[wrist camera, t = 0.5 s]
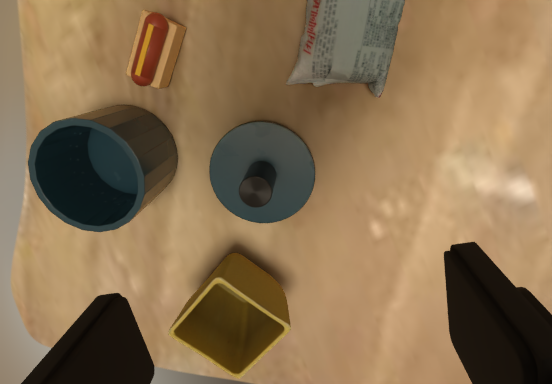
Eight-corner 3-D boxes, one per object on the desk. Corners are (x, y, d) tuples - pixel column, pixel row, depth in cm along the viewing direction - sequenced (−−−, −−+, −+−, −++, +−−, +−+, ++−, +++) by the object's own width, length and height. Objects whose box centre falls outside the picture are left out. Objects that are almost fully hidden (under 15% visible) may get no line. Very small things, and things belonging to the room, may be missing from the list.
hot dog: (155, 9, 34) (136, 3, 30) (187, 24, 34) (172, 20, 30) (136, 75, 36) (116, 78, 32) (167, 89, 36) (151, 93, 33)
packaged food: (287, 81, 35) (284, 85, 31) (308, -64, 31) (309, -85, 26) (377, 95, 35) (389, 101, 30) (411, -49, 31) (430, -67, 26)
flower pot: (296, 275, 43) (293, 329, 34) (250, 321, 45) (238, 381, 37) (235, 230, 41) (216, 275, 33) (192, 280, 44) (165, 334, 36)
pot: (97, 88, 37) (39, 97, 29) (190, 129, 38) (158, 149, 30) (76, 174, 40) (19, 204, 32) (161, 211, 41) (126, 248, 33)
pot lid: (233, 102, 36) (220, 111, 31) (332, 147, 37) (337, 164, 31) (198, 194, 40) (180, 218, 34) (288, 234, 41) (285, 263, 35)
